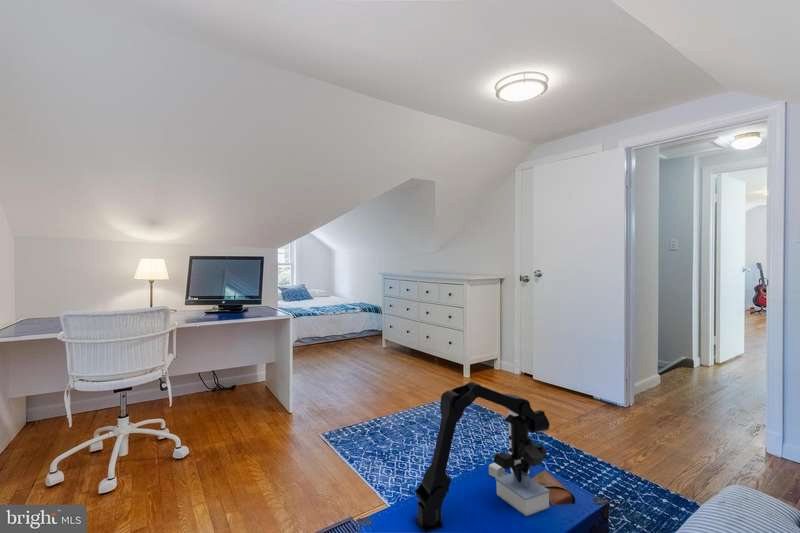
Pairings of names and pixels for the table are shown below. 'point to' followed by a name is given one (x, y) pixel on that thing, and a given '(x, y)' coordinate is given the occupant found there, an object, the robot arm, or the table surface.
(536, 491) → the lid
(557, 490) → the sunglasses case
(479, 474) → the table surface
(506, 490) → the tub
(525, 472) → the robot arm
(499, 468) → the usb wall charger
